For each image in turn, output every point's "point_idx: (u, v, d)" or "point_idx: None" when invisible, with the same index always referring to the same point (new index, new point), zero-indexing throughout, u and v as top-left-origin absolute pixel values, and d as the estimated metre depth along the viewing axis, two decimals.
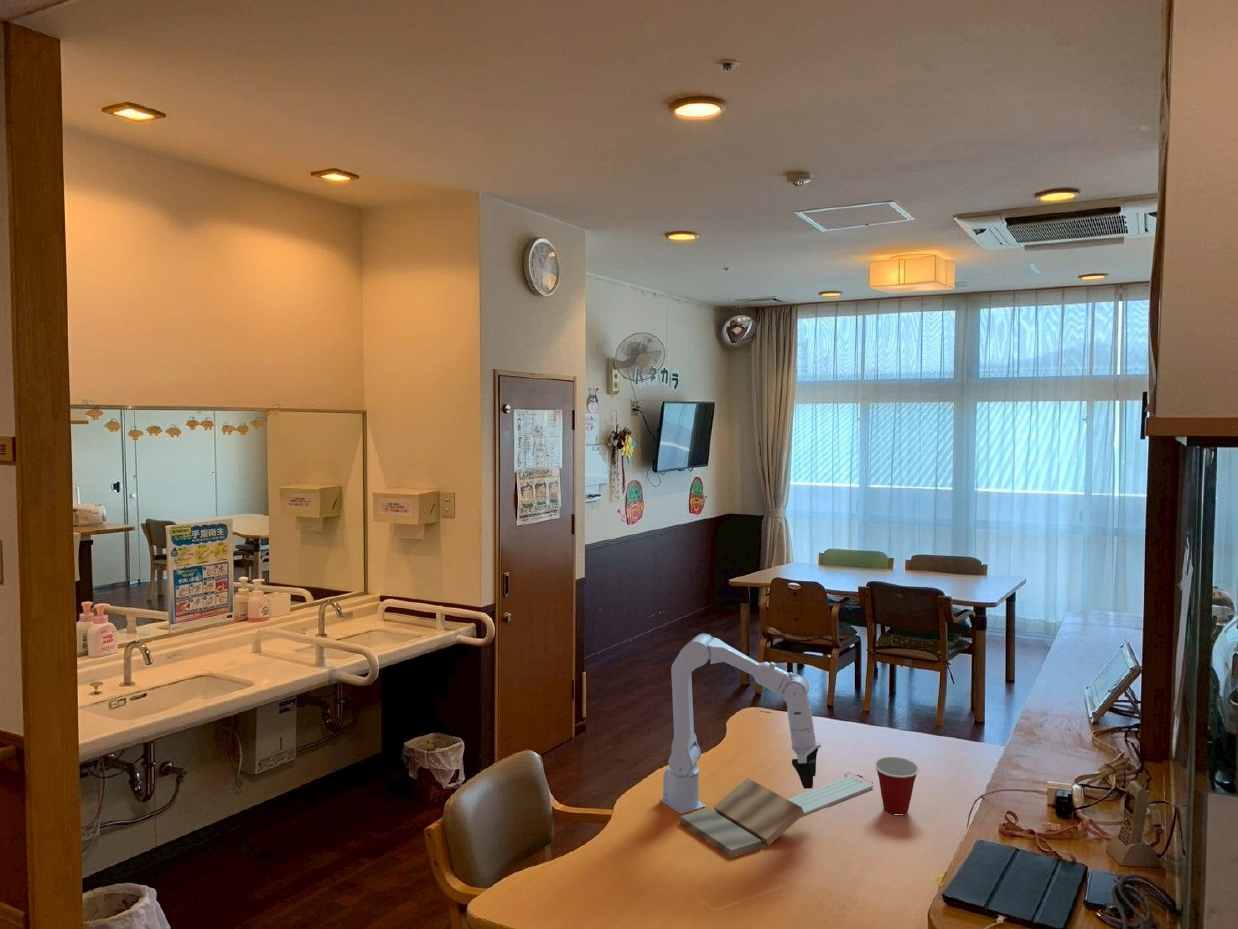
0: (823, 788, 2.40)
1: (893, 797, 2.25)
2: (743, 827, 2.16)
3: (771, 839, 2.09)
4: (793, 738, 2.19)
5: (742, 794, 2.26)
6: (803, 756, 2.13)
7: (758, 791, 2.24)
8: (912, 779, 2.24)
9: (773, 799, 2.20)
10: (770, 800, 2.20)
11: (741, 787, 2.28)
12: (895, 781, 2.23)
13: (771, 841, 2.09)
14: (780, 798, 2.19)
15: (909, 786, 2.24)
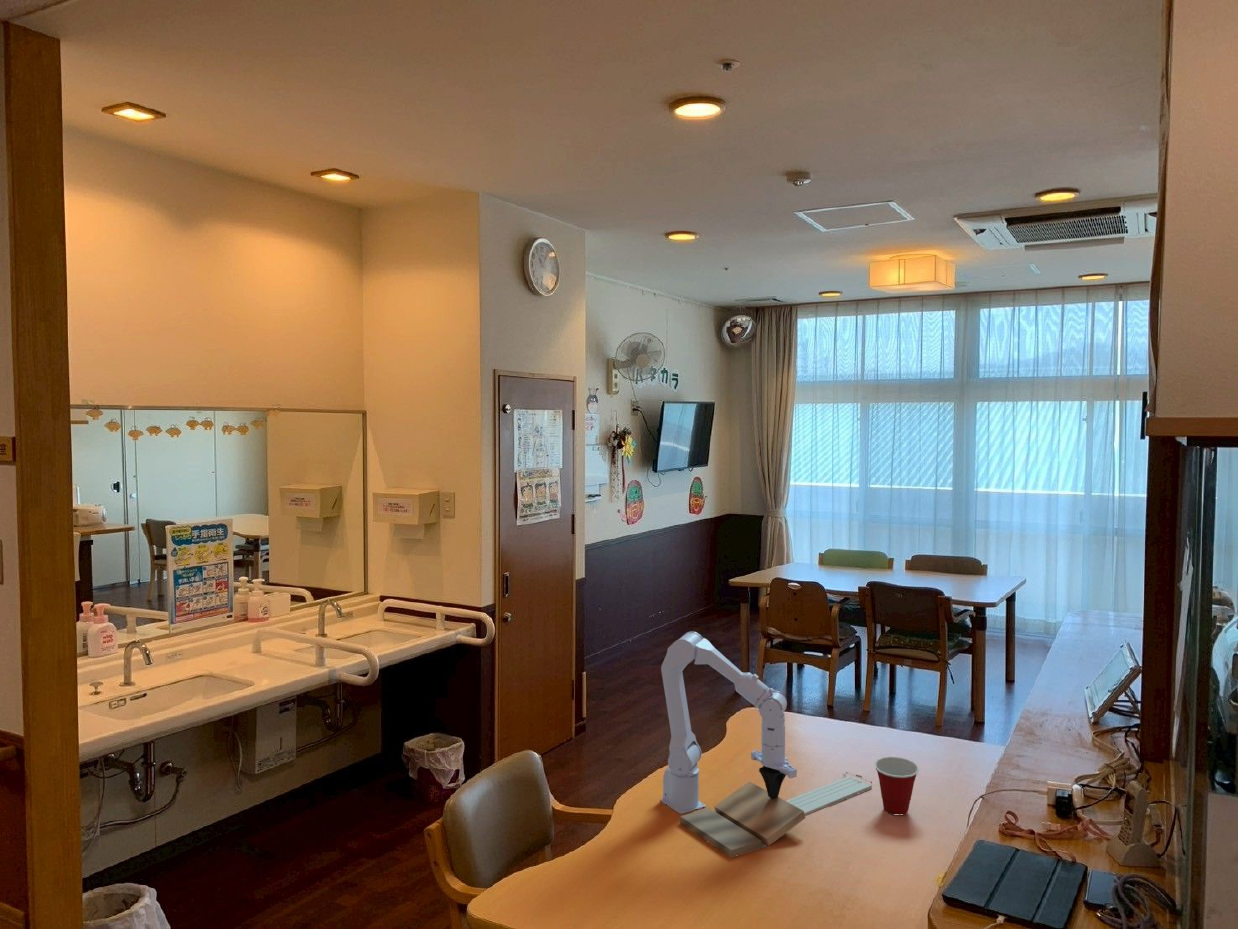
0: (822, 788, 2.40)
1: (893, 797, 2.25)
2: (743, 827, 2.16)
3: (771, 839, 2.09)
4: (772, 755, 2.19)
5: (743, 796, 2.26)
6: (795, 770, 2.16)
7: (760, 794, 2.25)
8: (912, 779, 2.24)
9: (775, 802, 2.20)
10: (772, 802, 2.20)
11: (743, 790, 2.29)
12: (895, 781, 2.23)
13: (771, 841, 2.09)
14: (782, 801, 2.20)
15: (909, 786, 2.24)
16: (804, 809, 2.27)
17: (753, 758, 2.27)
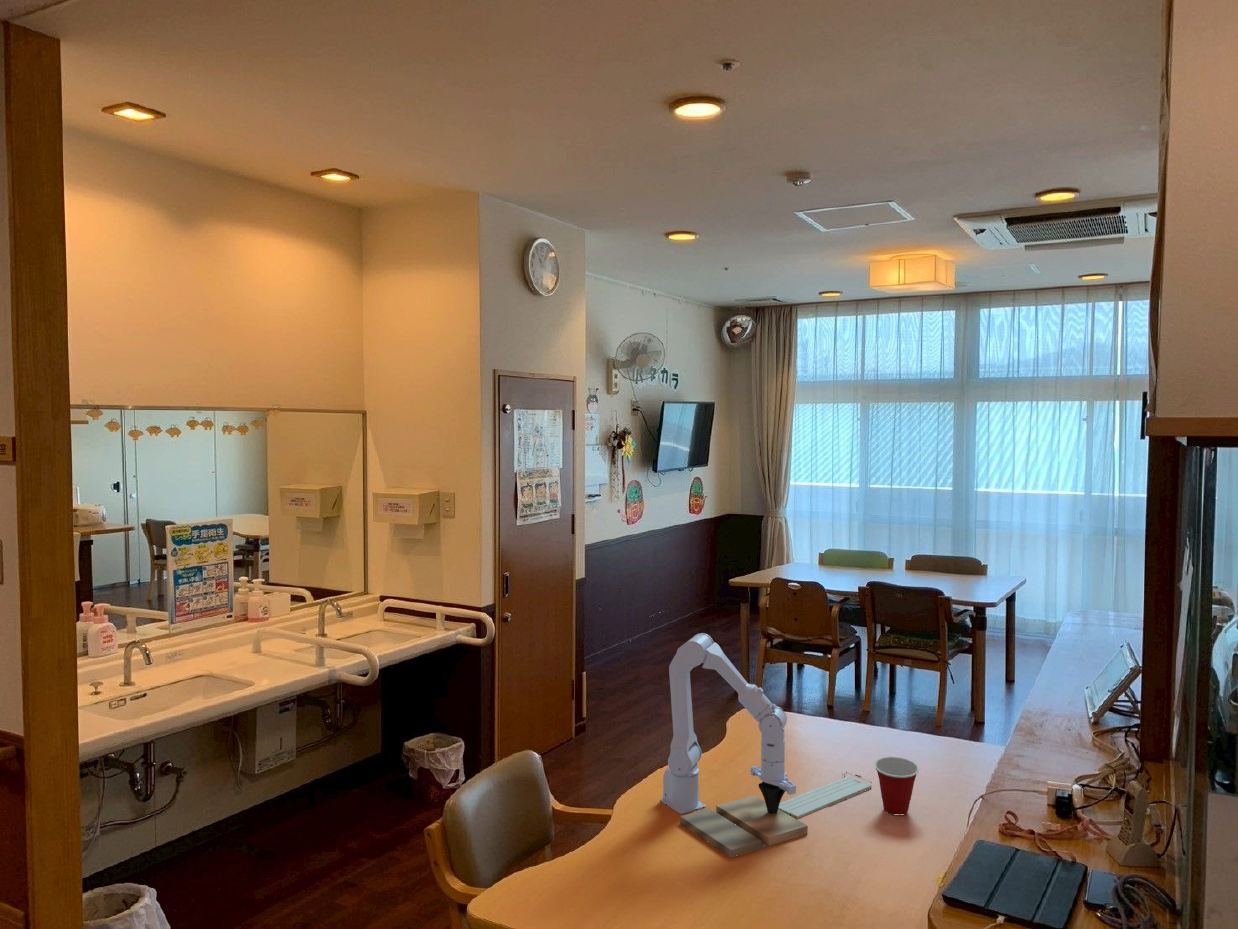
0: (822, 788, 2.40)
1: (893, 797, 2.25)
2: (745, 826, 2.16)
3: (772, 840, 2.10)
4: (771, 771, 2.19)
5: (746, 804, 2.27)
6: (794, 787, 2.16)
7: (764, 806, 2.26)
8: (912, 779, 2.24)
9: (779, 814, 2.21)
10: (775, 814, 2.21)
11: (746, 799, 2.29)
12: (895, 781, 2.23)
13: (772, 842, 2.09)
14: (786, 815, 2.21)
15: (909, 786, 2.24)
16: (804, 809, 2.27)
17: (752, 773, 2.27)
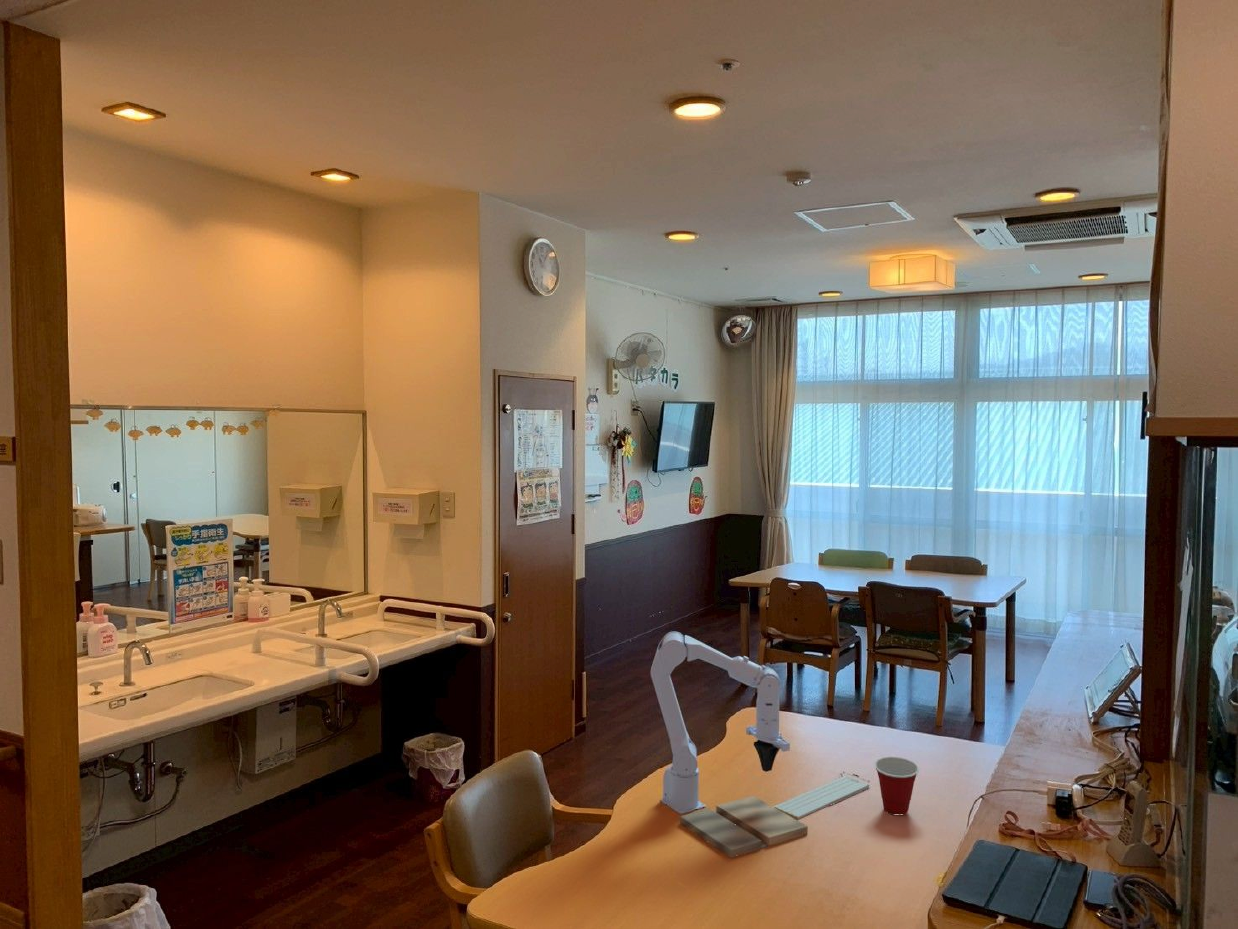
0: (821, 788, 2.39)
1: (893, 797, 2.25)
2: (745, 826, 2.16)
3: (773, 840, 2.10)
4: (766, 729, 2.25)
5: (746, 804, 2.27)
6: (788, 744, 2.22)
7: (764, 807, 2.26)
8: (912, 779, 2.24)
9: (779, 815, 2.21)
10: (775, 814, 2.21)
11: (746, 800, 2.29)
12: (895, 781, 2.23)
13: (772, 843, 2.10)
14: (786, 815, 2.21)
15: (909, 786, 2.24)
16: (804, 810, 2.27)
17: (748, 733, 2.33)
